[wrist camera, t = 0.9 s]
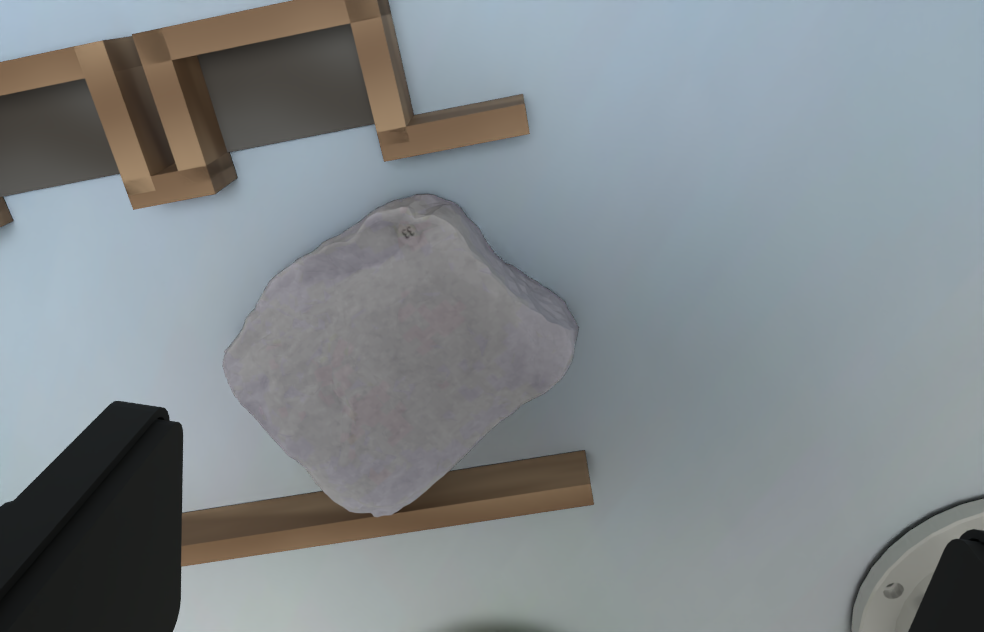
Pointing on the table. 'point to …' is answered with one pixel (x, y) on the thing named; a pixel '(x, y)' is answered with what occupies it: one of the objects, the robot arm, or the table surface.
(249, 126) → the channel
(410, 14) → the table surface
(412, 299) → the stone block
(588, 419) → the table surface
